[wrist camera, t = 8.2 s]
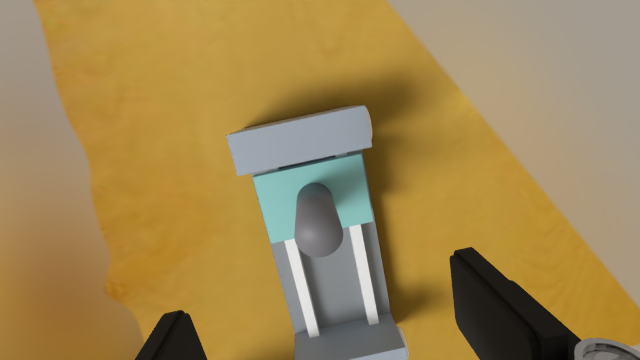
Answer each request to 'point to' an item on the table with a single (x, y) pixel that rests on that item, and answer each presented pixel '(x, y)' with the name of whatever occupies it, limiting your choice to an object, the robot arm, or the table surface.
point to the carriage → (314, 202)
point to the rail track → (339, 267)
